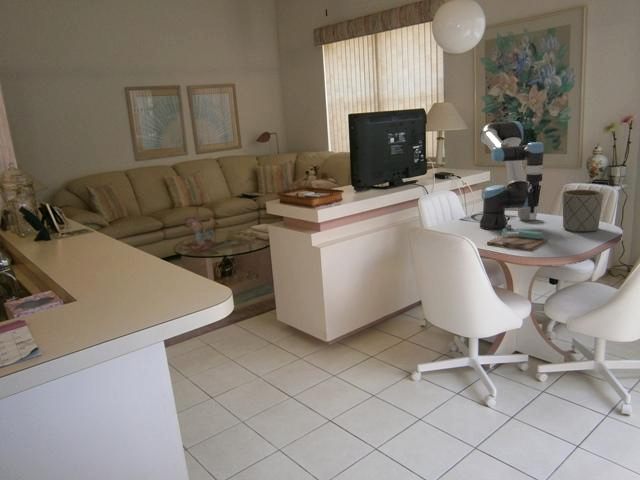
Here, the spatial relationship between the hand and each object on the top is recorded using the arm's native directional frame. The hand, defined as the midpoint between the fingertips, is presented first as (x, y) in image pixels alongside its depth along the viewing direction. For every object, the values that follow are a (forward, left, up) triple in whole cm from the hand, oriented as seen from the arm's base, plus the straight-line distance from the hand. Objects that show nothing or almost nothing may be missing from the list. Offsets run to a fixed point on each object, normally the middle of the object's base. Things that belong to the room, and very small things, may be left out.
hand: (532, 218), depth 258 cm
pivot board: (-1, -15, -10) cm, 18 cm away
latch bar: (-2, -8, -8) cm, 11 cm away
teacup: (-18, +37, -10) cm, 43 cm away
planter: (+15, +27, -10) cm, 33 cm away
